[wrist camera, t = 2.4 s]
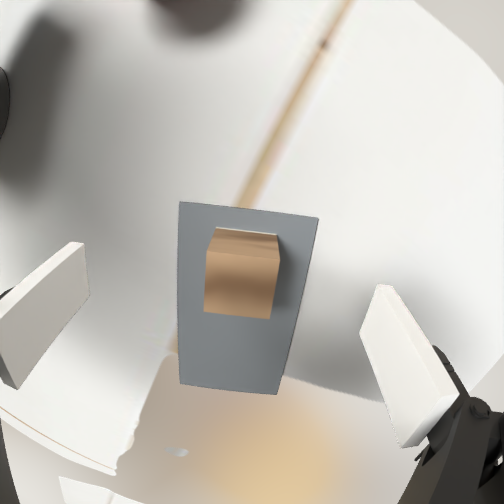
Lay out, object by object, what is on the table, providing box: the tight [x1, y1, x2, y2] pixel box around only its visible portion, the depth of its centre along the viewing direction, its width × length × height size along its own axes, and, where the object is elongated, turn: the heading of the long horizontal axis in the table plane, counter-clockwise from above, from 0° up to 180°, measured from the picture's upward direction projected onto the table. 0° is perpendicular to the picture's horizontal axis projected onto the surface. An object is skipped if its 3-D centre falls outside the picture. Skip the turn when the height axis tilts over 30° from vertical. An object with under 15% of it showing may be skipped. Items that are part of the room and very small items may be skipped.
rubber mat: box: [177, 202, 318, 395], centre depth 41 cm, size 30×16×1 cm, turn 173°
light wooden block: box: [203, 227, 280, 319], centre depth 34 cm, size 7×7×7 cm
